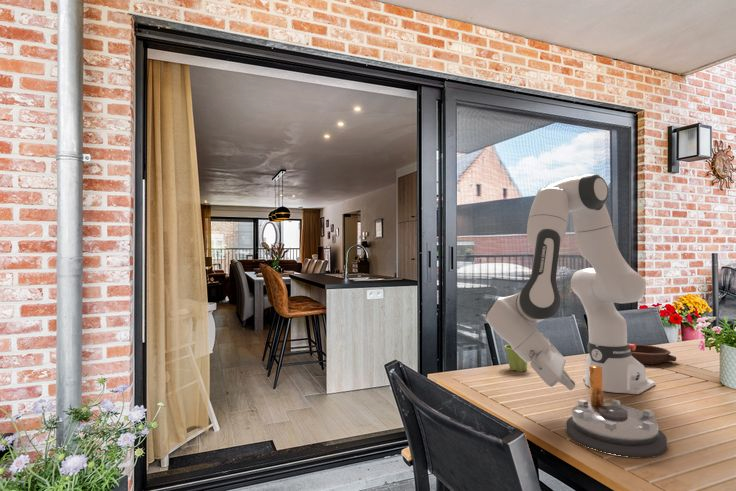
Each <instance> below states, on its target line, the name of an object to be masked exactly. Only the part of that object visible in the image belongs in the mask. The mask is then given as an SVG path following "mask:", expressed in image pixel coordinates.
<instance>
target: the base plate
mask: <svg viewBox="0 0 736 491" xmlns="http://www.w3.org/2000/svg"><path fill="white" fill-rule="evenodd" d="M565 424H566V428H565V429H566V433H568V434H567V435H568V437H569V436H570V437H571V438H572V439H573V440H572V439H571V440H572V441H574V440H575V441H576V442H575V441H574V442H575V443H577V442H578V443H580V444H582V445H584V446H586V447H589V448H593V449H596V450H598V451H602V452H606V453H611V454H616V455H621V456H628V457H651V458H654V457H653V456H656V457H659V456H662V455H663V454H665V453H666V451H667V450H668V449H667V448H668V439H667V436H666V435H665V434H664V432H663V431H662V430H660V429H659V428H658V432H659V438H658V440H657V441H655V442H653V443H651V444H646V445H621V444H614V443H609V442H605V441H601V440H598V439H594V438H592V437H589V436H587V435H585V434H583V433H581V432H580V431H578V430H577V429H576V428H575V427H574V425H573V416H570V417H568V418H567V419H566V423H565ZM570 437H569V438H570ZM578 443H577V444H578ZM580 444H579V445H580ZM582 445H581V446H582ZM584 446H583V447H584ZM586 447H585V448H586ZM589 448H588V449H589ZM658 455H659V456H658Z"/></svg>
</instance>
